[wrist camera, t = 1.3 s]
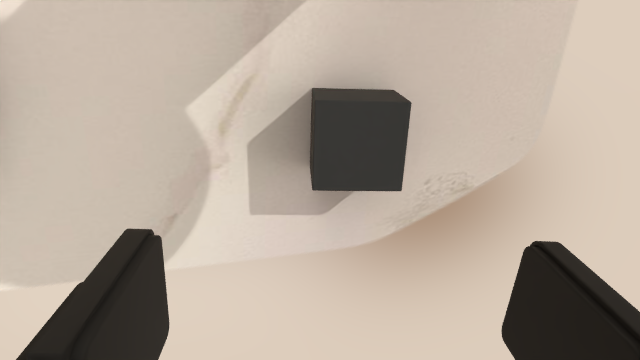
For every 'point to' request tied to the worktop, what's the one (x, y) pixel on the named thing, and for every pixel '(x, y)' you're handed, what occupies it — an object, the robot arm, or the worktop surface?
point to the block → (358, 139)
